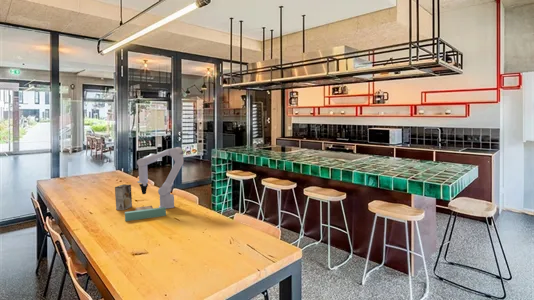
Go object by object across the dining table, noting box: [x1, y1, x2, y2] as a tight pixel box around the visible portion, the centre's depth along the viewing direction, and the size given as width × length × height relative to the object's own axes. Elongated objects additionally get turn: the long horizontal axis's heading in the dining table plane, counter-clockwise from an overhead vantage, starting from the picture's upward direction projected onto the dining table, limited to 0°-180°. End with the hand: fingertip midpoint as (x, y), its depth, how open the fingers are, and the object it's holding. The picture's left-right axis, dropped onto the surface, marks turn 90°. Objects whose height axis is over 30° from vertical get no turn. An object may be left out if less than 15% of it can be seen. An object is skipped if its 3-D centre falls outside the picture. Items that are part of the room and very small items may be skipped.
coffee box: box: [114, 183, 133, 211], centre depth 215 cm, size 9×6×16 cm
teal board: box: [124, 207, 167, 222], centre depth 196 cm, size 24×3×5 cm, turn 118°
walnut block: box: [135, 205, 154, 211], centre depth 201 cm, size 10×8×5 cm
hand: (144, 193), depth 219 cm, fingers closed
